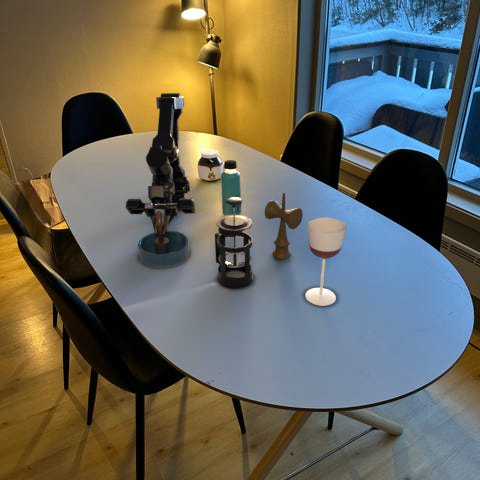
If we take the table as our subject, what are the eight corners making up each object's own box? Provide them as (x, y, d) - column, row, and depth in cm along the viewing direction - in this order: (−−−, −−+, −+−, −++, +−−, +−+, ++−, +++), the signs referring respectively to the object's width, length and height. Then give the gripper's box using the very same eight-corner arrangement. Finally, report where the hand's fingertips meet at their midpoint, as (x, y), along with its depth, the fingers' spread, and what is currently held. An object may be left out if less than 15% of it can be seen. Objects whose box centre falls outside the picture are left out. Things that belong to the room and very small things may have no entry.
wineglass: (300, 288, 115) (304, 218, 105) (333, 286, 115) (340, 216, 106) (306, 307, 107) (312, 234, 98) (342, 305, 108) (350, 232, 99)
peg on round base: (154, 254, 128) (149, 209, 121) (167, 251, 129) (163, 207, 123) (158, 260, 125) (153, 215, 118) (171, 257, 126) (168, 212, 120)
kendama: (288, 266, 124) (291, 200, 115) (262, 254, 130) (263, 191, 121) (301, 258, 128) (305, 194, 118) (275, 247, 133) (277, 184, 124)
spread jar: (196, 182, 181) (195, 154, 176) (203, 172, 191) (202, 146, 186) (225, 183, 179) (224, 156, 174) (230, 174, 189) (230, 147, 184)
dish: (131, 252, 131) (129, 239, 130) (174, 238, 139) (173, 226, 137) (152, 273, 121) (151, 260, 119) (198, 257, 128) (197, 244, 127)
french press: (262, 279, 118) (263, 199, 108) (238, 294, 112) (237, 212, 102) (230, 263, 125) (228, 187, 115) (205, 277, 119) (201, 198, 109)
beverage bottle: (239, 222, 149) (238, 165, 139) (219, 220, 150) (218, 163, 141) (243, 213, 154) (242, 158, 145) (224, 212, 155) (222, 157, 146)
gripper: (122, 171, 120) (118, 227, 115) (192, 170, 120) (191, 226, 115) (132, 187, 130) (128, 239, 125) (195, 187, 130) (195, 238, 125)
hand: (160, 235), depth 122 cm, fingers closed on peg on round base, 2 cm apart
